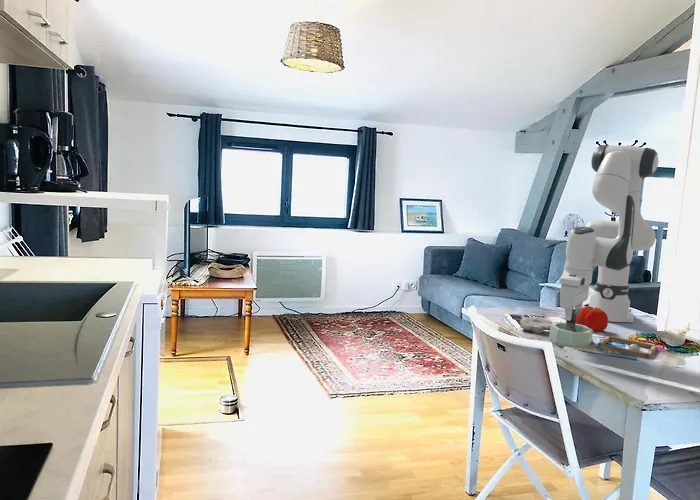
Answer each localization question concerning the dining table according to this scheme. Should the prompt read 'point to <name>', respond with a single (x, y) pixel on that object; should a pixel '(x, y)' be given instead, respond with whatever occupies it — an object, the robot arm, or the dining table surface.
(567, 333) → the bowl
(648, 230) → the robot arm
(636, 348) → the pebble
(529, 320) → the fossil
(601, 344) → the oak tray
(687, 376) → the dining table surface
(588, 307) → the tomato
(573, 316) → the chess piece
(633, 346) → the pebble
